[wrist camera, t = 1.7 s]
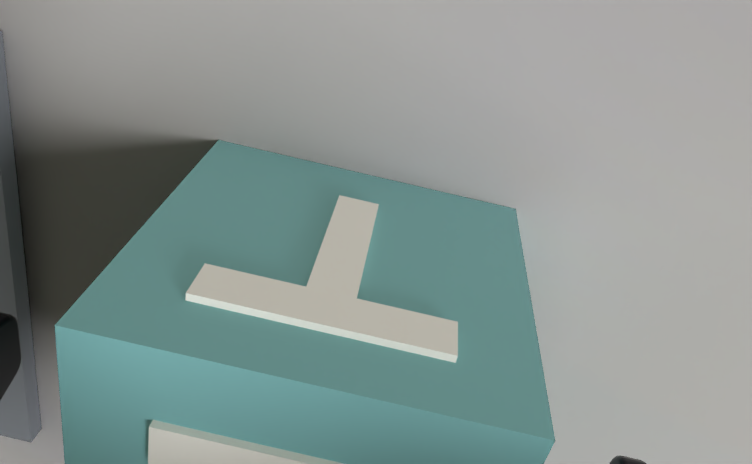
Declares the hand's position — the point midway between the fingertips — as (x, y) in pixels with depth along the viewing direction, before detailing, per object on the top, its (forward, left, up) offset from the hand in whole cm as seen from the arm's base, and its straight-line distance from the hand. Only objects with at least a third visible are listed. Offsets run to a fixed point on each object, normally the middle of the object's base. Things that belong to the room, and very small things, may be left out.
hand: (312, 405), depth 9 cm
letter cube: (0, 0, -3) cm, 3 cm away
